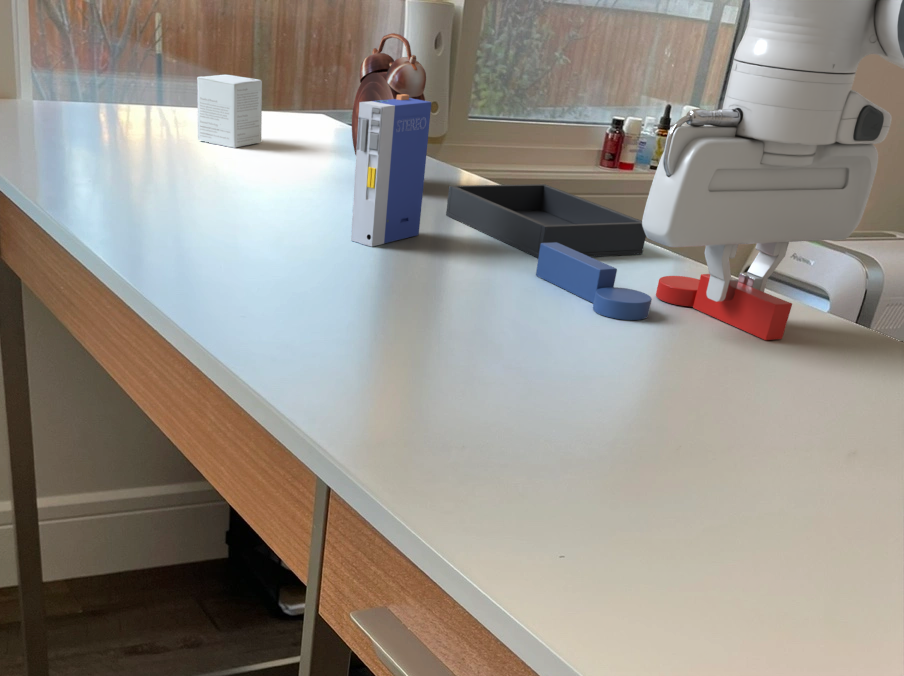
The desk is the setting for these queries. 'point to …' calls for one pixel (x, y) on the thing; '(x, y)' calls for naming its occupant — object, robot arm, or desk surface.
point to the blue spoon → (591, 282)
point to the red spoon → (729, 305)
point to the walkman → (389, 169)
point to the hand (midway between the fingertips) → (733, 298)
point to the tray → (545, 219)
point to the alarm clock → (388, 79)
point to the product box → (229, 110)
